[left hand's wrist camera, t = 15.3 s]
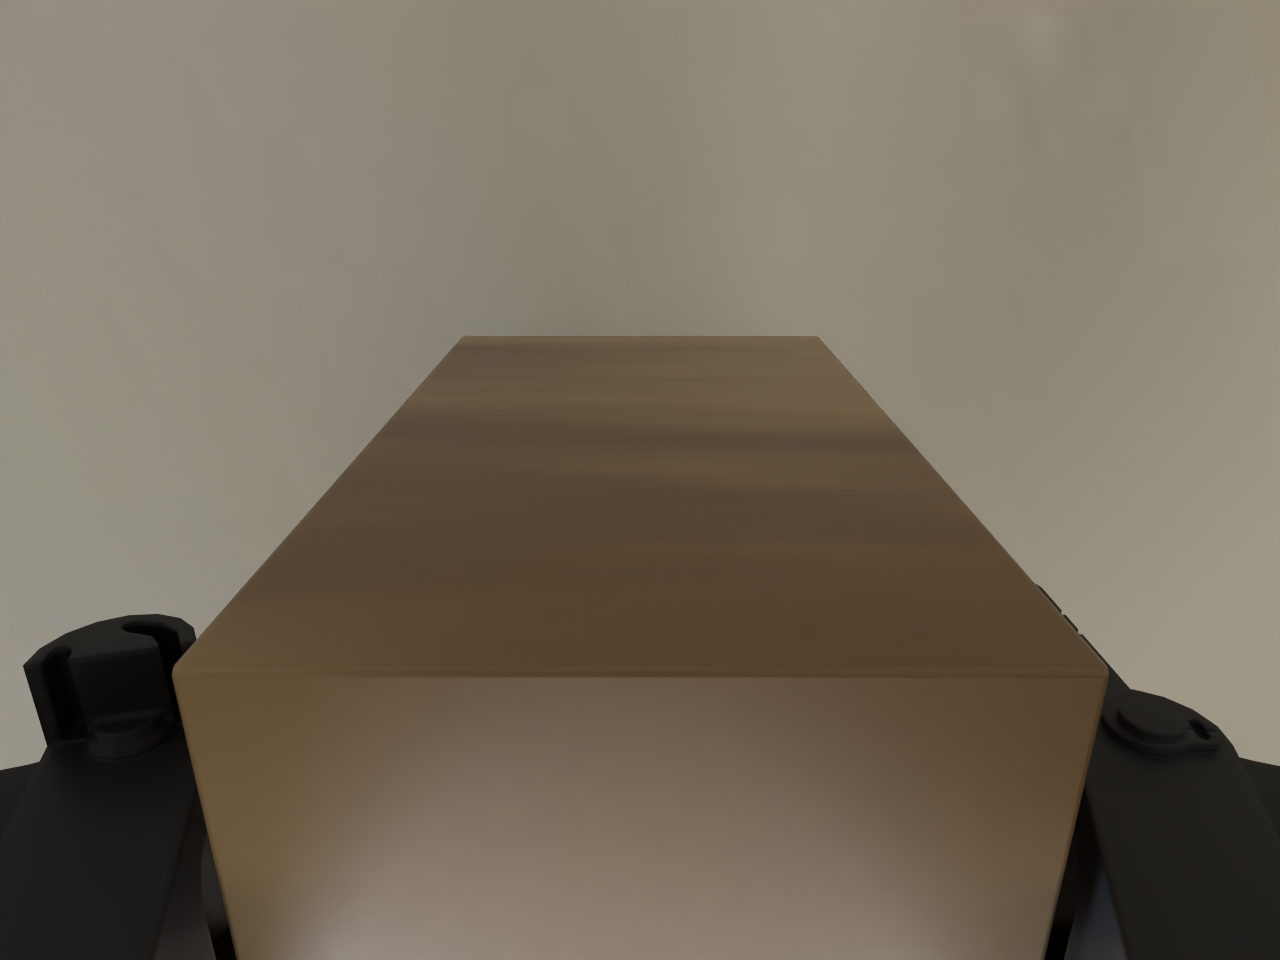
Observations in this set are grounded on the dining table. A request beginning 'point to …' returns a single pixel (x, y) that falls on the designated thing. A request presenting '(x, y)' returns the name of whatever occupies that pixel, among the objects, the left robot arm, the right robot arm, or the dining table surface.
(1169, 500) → the dining table surface
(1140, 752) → the left robot arm
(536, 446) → the bar
